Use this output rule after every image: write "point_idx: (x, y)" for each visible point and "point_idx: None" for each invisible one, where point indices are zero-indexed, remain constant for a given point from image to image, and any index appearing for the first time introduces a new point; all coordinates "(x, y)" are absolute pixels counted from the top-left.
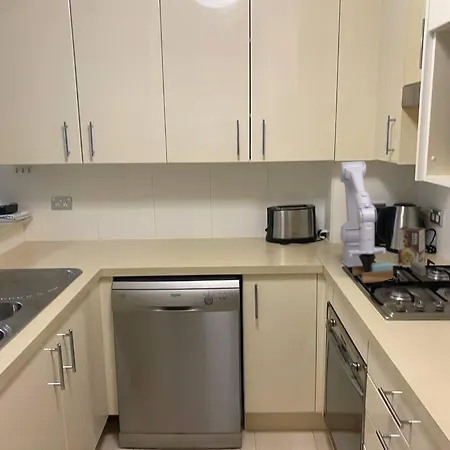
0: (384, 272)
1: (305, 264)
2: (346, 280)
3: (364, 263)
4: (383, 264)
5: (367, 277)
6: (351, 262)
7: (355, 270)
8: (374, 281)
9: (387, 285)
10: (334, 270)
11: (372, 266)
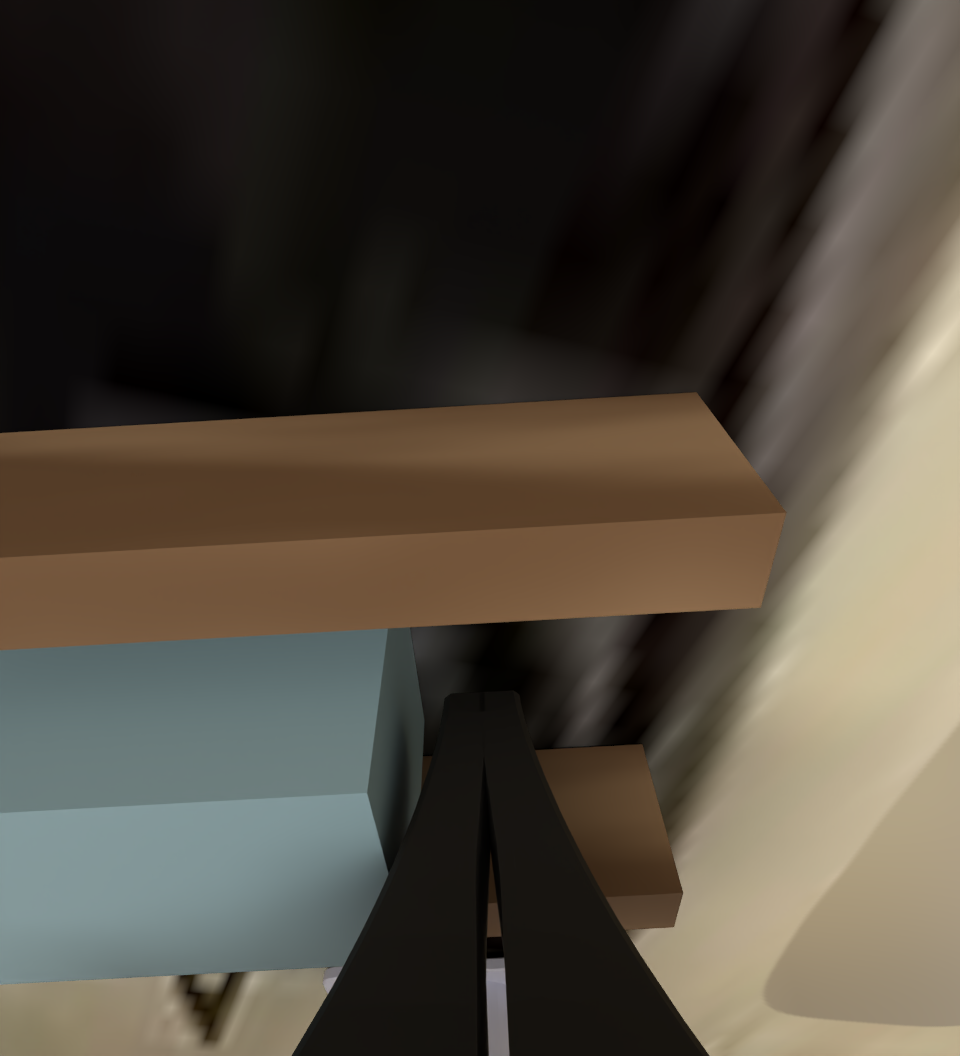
0: (77, 545)
1: (901, 1031)
2: (893, 595)
3: (624, 940)
4: (30, 886)
5: (615, 458)
6: (501, 1024)
7: (633, 830)
8: (418, 412)
9: (140, 15)
10: (755, 910)
11: (368, 824)
